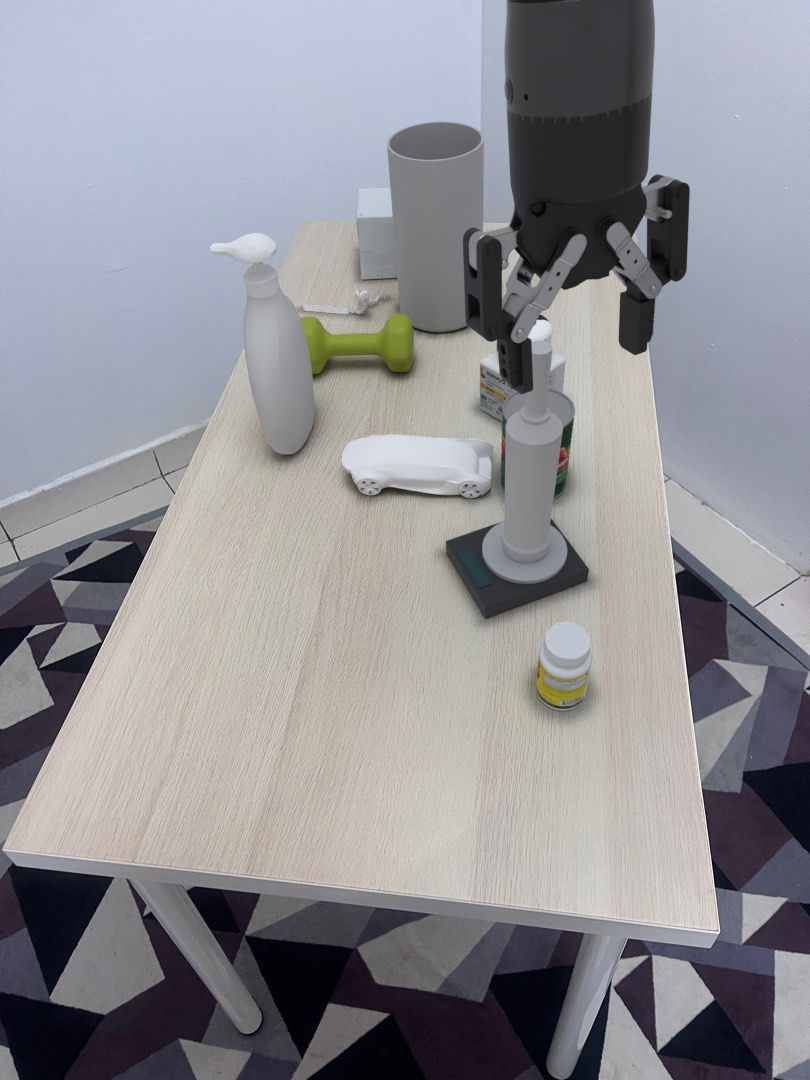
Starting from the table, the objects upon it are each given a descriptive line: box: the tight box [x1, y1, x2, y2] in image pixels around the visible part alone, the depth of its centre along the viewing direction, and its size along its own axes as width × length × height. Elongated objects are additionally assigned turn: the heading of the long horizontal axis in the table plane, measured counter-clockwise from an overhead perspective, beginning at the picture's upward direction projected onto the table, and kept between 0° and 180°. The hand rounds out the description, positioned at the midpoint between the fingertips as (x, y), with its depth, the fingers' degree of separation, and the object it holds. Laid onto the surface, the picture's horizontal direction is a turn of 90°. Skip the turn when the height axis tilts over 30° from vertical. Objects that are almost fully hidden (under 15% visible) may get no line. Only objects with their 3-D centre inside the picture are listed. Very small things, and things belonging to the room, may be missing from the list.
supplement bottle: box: [535, 621, 593, 712], centre depth 73 cm, size 5×5×8 cm
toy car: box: [341, 433, 494, 499], centre depth 95 cm, size 18×8×4 cm, turn 84°
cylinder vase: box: [386, 120, 485, 333], centre depth 112 cm, size 12×12×25 cm
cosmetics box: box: [355, 186, 397, 281], centre depth 128 cm, size 10×6×10 cm, turn 1°
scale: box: [445, 518, 590, 619], centre depth 85 cm, size 12×10×3 cm
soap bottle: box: [209, 232, 315, 455], centre depth 94 cm, size 14×8×27 cm, turn 172°
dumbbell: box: [300, 313, 415, 375], centre depth 110 cm, size 16×8×7 cm, turn 87°
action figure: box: [302, 283, 387, 315], centre depth 122 cm, size 12×5×7 cm
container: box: [479, 314, 567, 422], centre depth 100 cm, size 8×8×13 cm
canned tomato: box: [499, 388, 576, 501], centre depth 91 cm, size 8×8×11 cm
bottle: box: [501, 340, 563, 563], centre depth 76 cm, size 5×5×25 cm
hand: (577, 368), depth 52 cm, fingers open, 8 cm apart
